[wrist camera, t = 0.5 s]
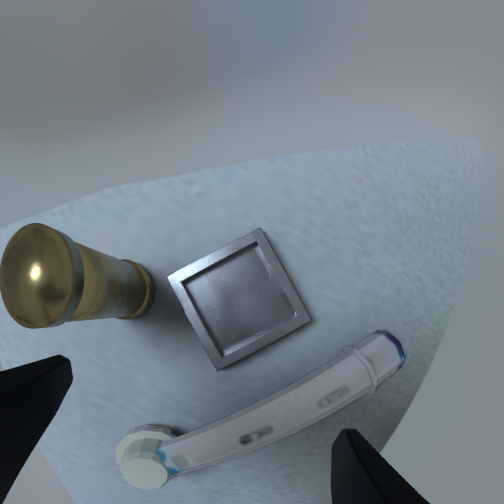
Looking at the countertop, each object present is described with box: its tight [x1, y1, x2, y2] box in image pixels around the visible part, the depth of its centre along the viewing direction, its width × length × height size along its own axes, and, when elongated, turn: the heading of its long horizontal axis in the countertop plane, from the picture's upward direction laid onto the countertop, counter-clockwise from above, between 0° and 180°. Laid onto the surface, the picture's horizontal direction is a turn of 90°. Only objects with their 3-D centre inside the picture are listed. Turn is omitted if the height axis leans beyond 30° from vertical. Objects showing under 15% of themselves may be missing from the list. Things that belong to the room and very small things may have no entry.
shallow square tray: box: [167, 227, 312, 371], centre depth 22 cm, size 8×8×2 cm
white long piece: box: [116, 330, 405, 490], centre depth 19 cm, size 5×7×25 cm
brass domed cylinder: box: [0, 223, 155, 329], centre depth 16 cm, size 5×5×13 cm
